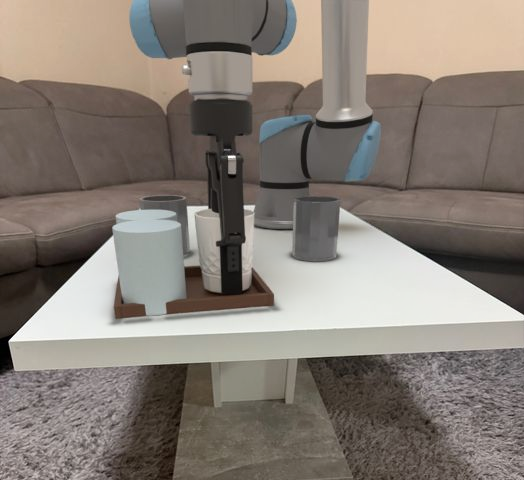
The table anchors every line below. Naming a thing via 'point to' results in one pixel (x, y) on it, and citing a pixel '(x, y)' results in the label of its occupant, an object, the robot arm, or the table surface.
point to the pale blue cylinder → (150, 263)
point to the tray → (201, 297)
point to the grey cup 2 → (315, 228)
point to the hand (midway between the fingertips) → (226, 284)
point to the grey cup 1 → (170, 204)
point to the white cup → (210, 254)
